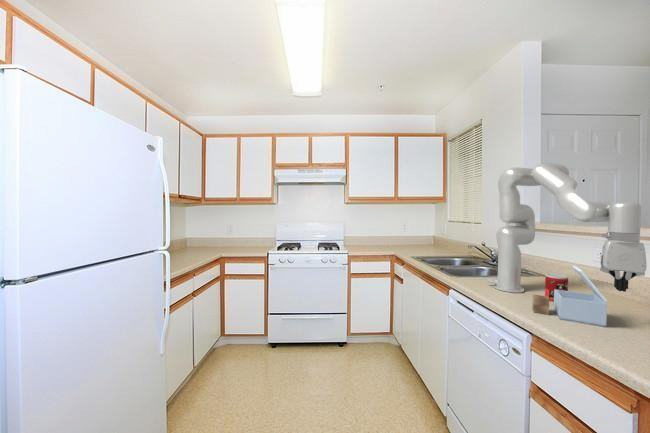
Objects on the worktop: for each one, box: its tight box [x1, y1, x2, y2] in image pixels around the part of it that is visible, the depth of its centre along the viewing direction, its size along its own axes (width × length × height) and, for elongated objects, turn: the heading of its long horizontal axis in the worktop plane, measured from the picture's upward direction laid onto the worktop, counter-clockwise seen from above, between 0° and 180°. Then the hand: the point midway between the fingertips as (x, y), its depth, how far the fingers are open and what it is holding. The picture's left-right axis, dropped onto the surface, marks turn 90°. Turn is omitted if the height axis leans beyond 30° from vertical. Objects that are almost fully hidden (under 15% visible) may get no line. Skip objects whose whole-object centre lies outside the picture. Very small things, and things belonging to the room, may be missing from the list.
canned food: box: [544, 272, 569, 303], centre depth 120 cm, size 8×8×11 cm
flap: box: [571, 265, 608, 303], centre depth 99 cm, size 12×11×1 cm
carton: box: [553, 289, 608, 328], centre depth 100 cm, size 12×12×8 cm
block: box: [531, 294, 550, 316], centre depth 105 cm, size 4×4×6 cm
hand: (620, 290), depth 94 cm, fingers closed
